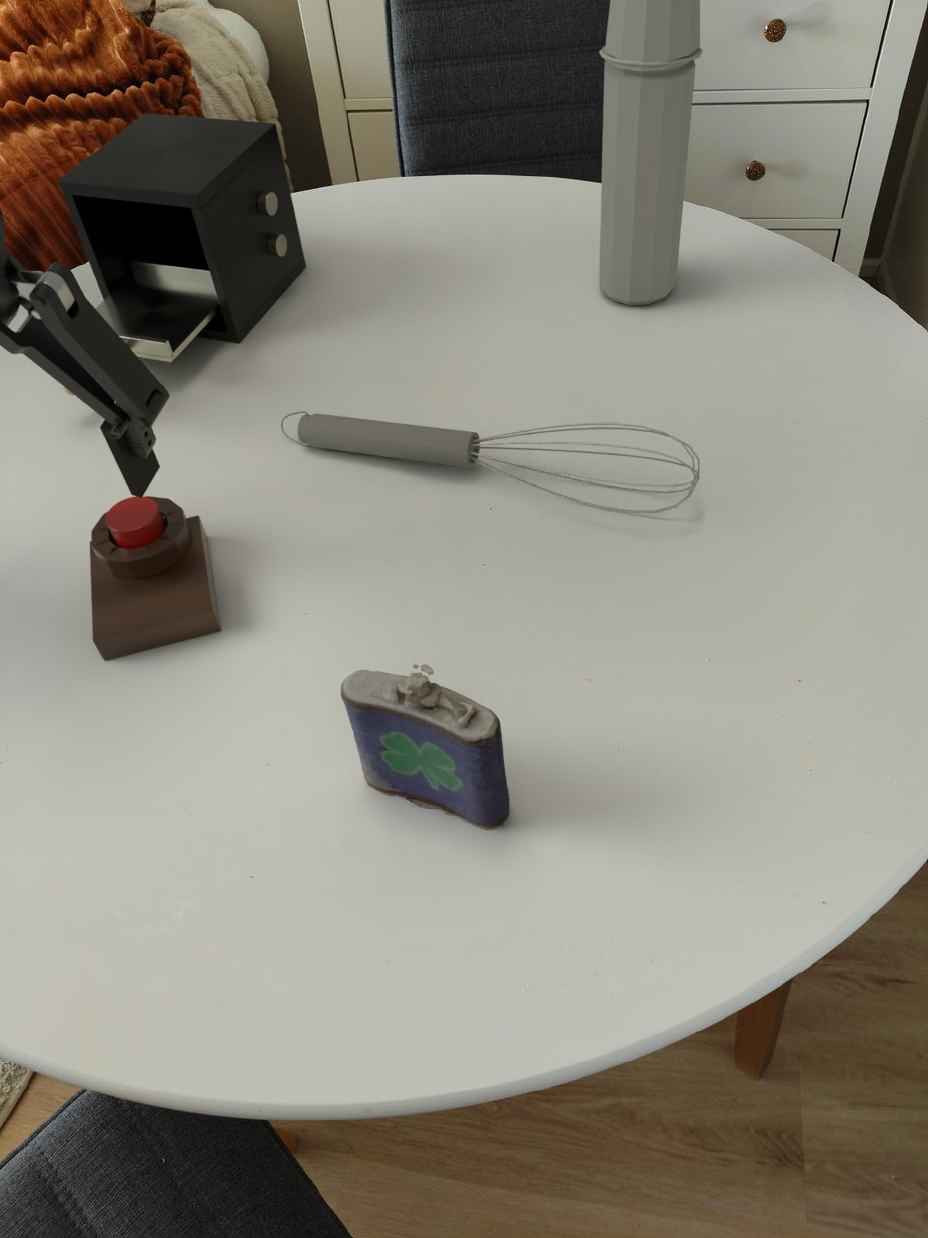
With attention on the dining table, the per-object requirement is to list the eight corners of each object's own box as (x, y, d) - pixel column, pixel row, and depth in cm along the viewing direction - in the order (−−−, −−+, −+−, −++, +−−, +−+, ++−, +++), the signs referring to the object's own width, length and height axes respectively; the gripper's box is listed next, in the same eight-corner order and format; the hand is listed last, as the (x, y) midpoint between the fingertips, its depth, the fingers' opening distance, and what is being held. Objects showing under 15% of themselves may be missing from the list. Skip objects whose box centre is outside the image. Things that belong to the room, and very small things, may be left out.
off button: (113, 521, 71) (104, 503, 70) (163, 509, 71) (155, 490, 70) (115, 555, 69) (106, 536, 67) (166, 542, 69) (159, 523, 68)
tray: (19, 389, 84) (-37, 277, 76) (138, 276, 95) (100, 168, 88) (129, 409, 81) (82, 294, 73) (239, 290, 92) (209, 179, 84)
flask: (357, 785, 59) (324, 673, 51) (380, 747, 60) (352, 632, 53) (500, 838, 56) (489, 727, 48) (520, 796, 57) (513, 682, 49)
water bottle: (672, 314, 89) (699, 0, 70) (586, 305, 91) (591, -2, 72) (689, 261, 95) (719, -42, 76) (608, 254, 97) (617, -43, 78)
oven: (113, 324, 96) (56, 180, 85) (187, 251, 104) (145, 112, 93) (248, 344, 91) (207, 195, 81) (315, 267, 100) (285, 123, 89)
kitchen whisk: (300, 415, 83) (284, 350, 79) (703, 488, 74) (713, 420, 69) (266, 461, 80) (247, 396, 75) (685, 544, 70) (694, 476, 65)
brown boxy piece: (99, 551, 74) (79, 511, 71) (205, 525, 75) (190, 485, 72) (104, 661, 67) (82, 622, 64) (221, 631, 68) (205, 591, 65)
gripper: (-372, 173, 48) (-141, 459, 66) (91, 271, 44) (201, 545, 63) (-272, 87, 52) (-79, 379, 70) (164, 171, 48) (248, 457, 66)
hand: (53, 458), depth 66 cm, fingers open, 13 cm apart
